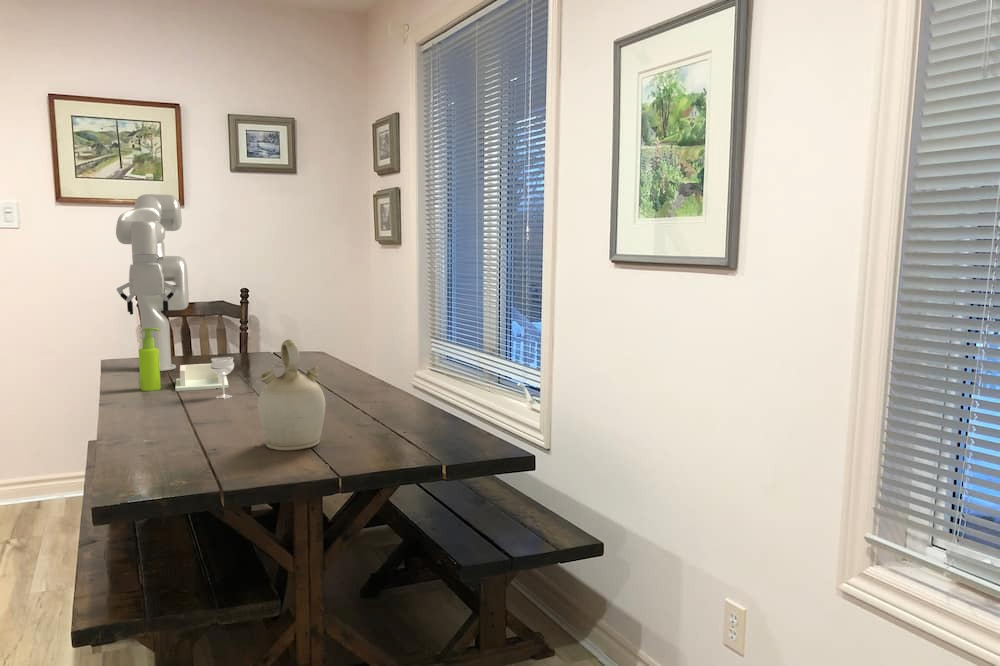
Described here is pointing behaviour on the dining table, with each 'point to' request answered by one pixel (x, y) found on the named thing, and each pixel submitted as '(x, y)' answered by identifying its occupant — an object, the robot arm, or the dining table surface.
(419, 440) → the dining table surface
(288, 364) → the jug
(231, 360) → the wineglass
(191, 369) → the u rest
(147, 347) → the soap dispenser
